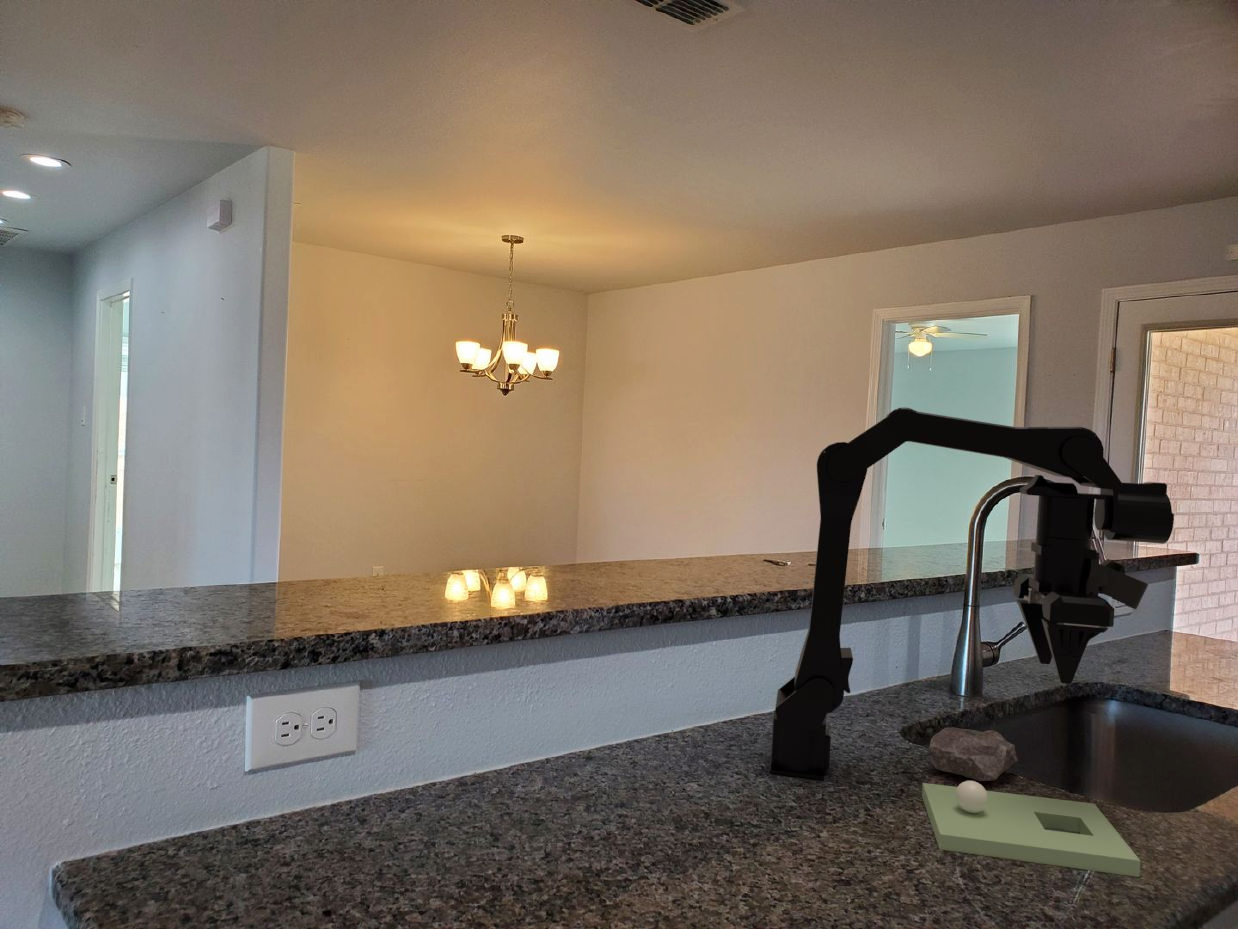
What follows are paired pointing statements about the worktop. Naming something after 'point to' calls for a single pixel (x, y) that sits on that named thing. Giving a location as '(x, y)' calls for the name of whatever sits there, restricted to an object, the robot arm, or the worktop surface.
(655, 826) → the worktop surface
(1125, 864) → the board
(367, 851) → the worktop surface
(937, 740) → the rock
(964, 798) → the ball
